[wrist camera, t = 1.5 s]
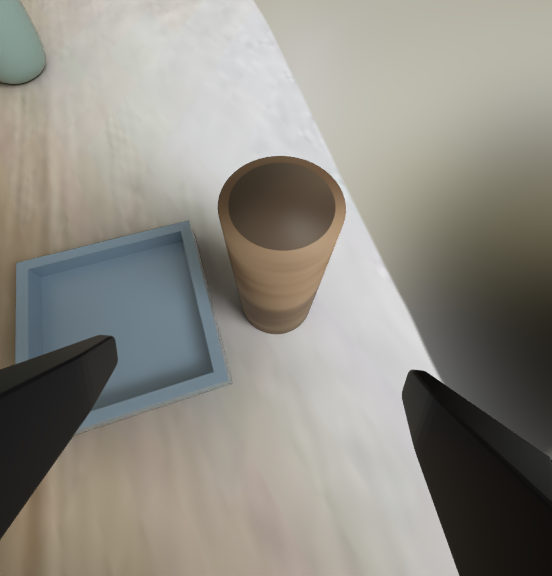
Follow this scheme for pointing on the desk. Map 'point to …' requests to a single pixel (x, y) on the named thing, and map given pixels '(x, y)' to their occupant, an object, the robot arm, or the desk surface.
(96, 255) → the desk tray
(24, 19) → the cup
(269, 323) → the cup
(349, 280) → the desk surface
